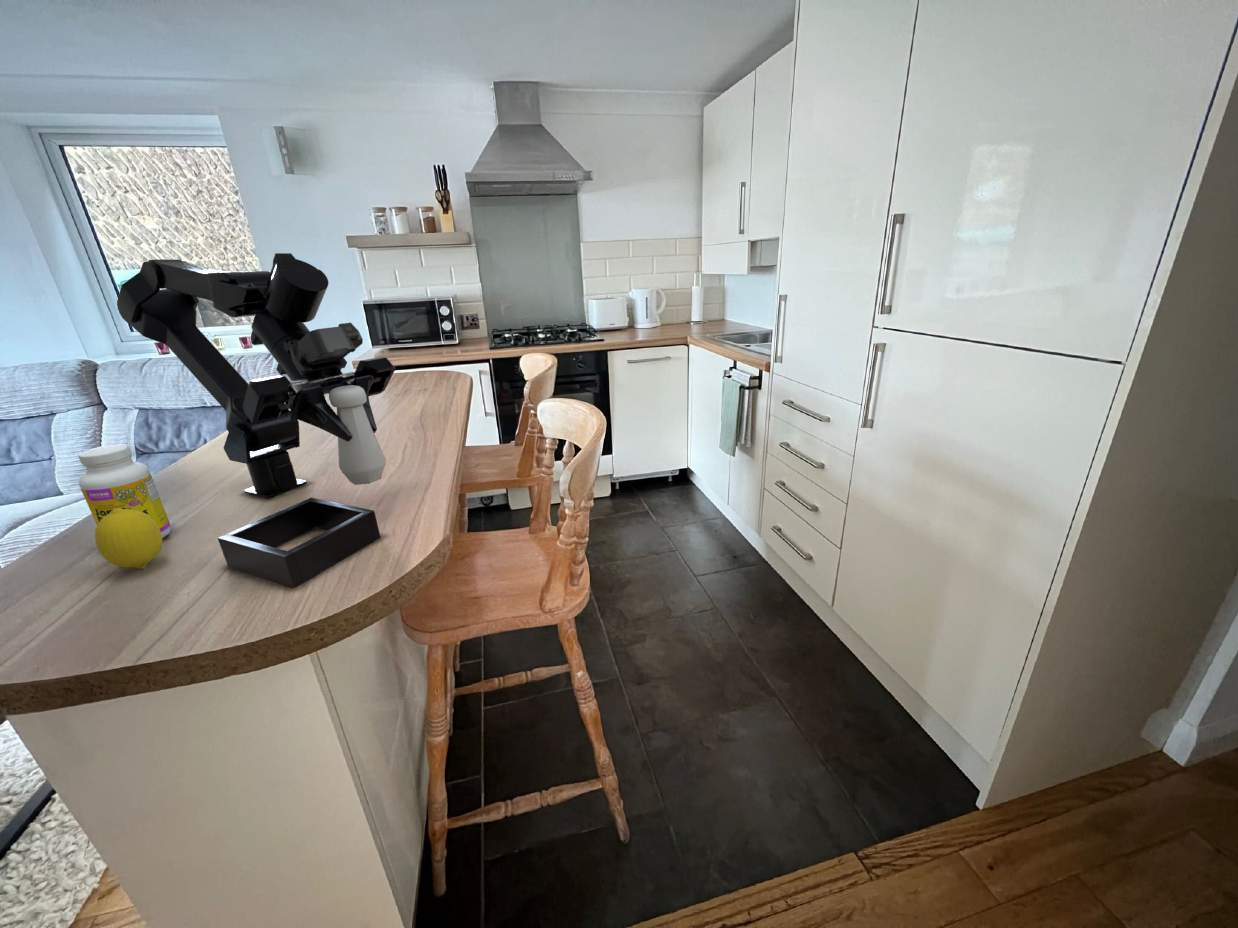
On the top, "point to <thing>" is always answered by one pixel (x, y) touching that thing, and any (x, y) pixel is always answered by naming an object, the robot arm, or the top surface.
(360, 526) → the black rectangular open frame
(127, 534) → the lemon
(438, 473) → the top surface
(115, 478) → the supplement bottle
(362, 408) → the salt shaker
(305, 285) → the robot arm
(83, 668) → the top surface
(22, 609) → the top surface
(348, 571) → the top surface
